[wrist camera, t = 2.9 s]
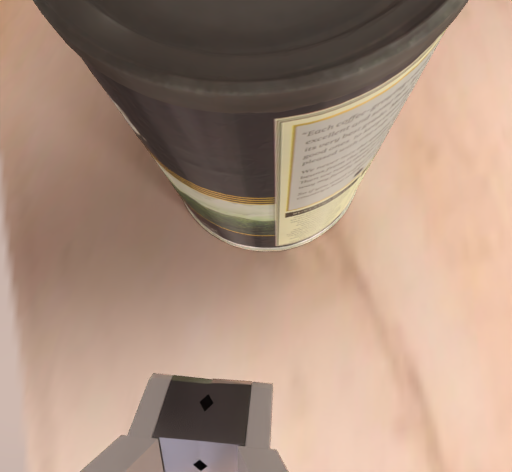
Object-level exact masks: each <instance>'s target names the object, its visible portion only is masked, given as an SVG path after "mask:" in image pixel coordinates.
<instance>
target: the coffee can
mask: <svg viewBox="0 0 512 472" xmlns="http://www.w3.org/2000/svg"><path fill="white" fill-rule="evenodd" d="M33 1H34V3H35V4H36V6H37V7H38V9H39V10H40V11H41V13H42V14H43V15H44V17H45V18H46V19H47V20H48V22H49V23H50V24H51V25H52V27H53V28H54V29H55V30H56V31H57V33H58V34H59V35H60V36H61V37H62V38H63V40H64V41H65V42H66V43H67V44H68V45H69V46H70V47H71V48H72V49H73V50H74V51H75V52H76V53H77V54H78V55H79V56H80V57H81V58H82V59H83V61H84V62H85V64H86V65H87V66H88V68H89V69H90V71H91V72H92V74H93V75H94V76H95V78H96V79H97V80H98V82H99V83H100V84H101V86H102V87H103V88H104V90H105V91H106V92H107V94H108V95H109V97H110V98H111V100H112V101H113V102H114V104H115V105H116V107H117V108H118V110H119V111H120V112H121V114H122V115H123V117H124V118H125V120H126V121H127V122H128V124H129V125H130V126H131V128H132V129H133V131H134V132H135V133H136V135H137V136H138V138H139V139H140V140H141V141H142V143H143V144H144V146H145V147H146V148H147V150H148V151H149V152H150V154H151V155H152V157H153V158H154V159H155V161H156V162H157V164H158V165H159V167H160V168H161V169H162V171H163V172H164V174H165V175H166V176H167V178H168V179H169V181H170V182H171V183H172V185H173V187H174V188H175V189H176V191H177V192H178V193H179V195H180V196H181V198H182V199H183V201H184V203H185V205H186V207H187V209H188V210H189V212H190V213H191V215H192V216H193V217H194V218H195V219H196V221H197V222H198V223H199V224H200V225H201V226H202V227H203V228H204V229H205V230H206V231H208V232H209V233H210V234H212V235H213V236H215V237H216V238H218V239H220V240H222V241H224V242H226V243H228V244H230V245H233V246H236V247H239V248H243V249H247V250H253V251H268V252H269V251H282V250H288V249H291V248H295V247H298V246H301V245H304V244H306V243H308V242H310V241H312V240H314V239H316V238H317V237H319V236H321V235H322V234H323V233H325V232H326V231H327V230H329V229H330V228H331V227H332V226H333V225H334V224H335V223H336V222H337V221H338V220H339V219H340V218H341V217H342V216H343V215H344V213H345V212H346V210H347V209H348V207H349V205H350V203H351V202H352V200H353V197H354V195H355V193H356V190H357V187H358V186H359V184H360V182H361V180H362V179H363V177H364V175H365V173H366V171H367V170H368V168H369V166H370V164H371V162H372V161H373V159H374V157H375V155H376V153H377V152H378V150H379V148H380V146H381V144H382V143H383V141H384V139H385V137H386V136H387V134H388V132H389V130H390V128H391V127H392V125H393V123H394V121H395V119H396V118H397V116H398V114H399V112H400V110H401V109H402V107H403V105H404V103H405V102H406V100H407V98H408V96H409V95H410V93H411V91H412V90H413V88H414V86H415V84H416V82H417V81H418V79H419V77H420V75H421V73H422V72H423V70H424V68H425V66H426V64H427V63H428V61H429V59H430V57H431V55H432V54H433V52H434V50H435V48H436V47H437V45H438V43H439V41H440V40H441V38H442V36H443V34H444V32H445V31H446V29H447V27H448V26H449V25H450V24H451V23H452V22H453V21H454V19H455V18H456V17H457V16H458V14H459V13H460V12H461V10H462V9H463V7H464V6H465V5H466V3H467V2H468V0H33Z"/></svg>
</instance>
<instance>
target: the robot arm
mask: <svg viewBox="0 0 512 472" xmlns="http://www.w3.org/2000/svg"><path fill="white" fill-rule="evenodd" d="M272 400H273V383H260V382H252V381H241V380H226V379H204V378H195V377H186V376H177V375H167V374H156V373H153V375H152V376H151V377H150V379H149V381H148V384H147V386H146V389H145V391H144V394H143V396H142V399H141V402H140V404H139V407H138V409H137V412H136V415H135V417H134V420H133V422H132V425H131V428H130V430H129V433H128V435H121V436H120V437H119V438H117V439H116V440H115V441H114V442H113V443H112V444H111V445H110V446H108V447H107V448H106V449H105V450H104V451H103V452H102V453H100V454H99V455H98V456H97V457H96V458H95V459H94V460H93V461H91V462H90V463H89V464H88V465H87V466H86V467H85V468H83V469H82V470H81V471H80V472H289V471H288V470H287V468H286V466H285V464H284V462H283V461H282V459H281V457H280V455H279V453H278V452H277V450H275V449H270V442H271V421H272Z"/></svg>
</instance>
